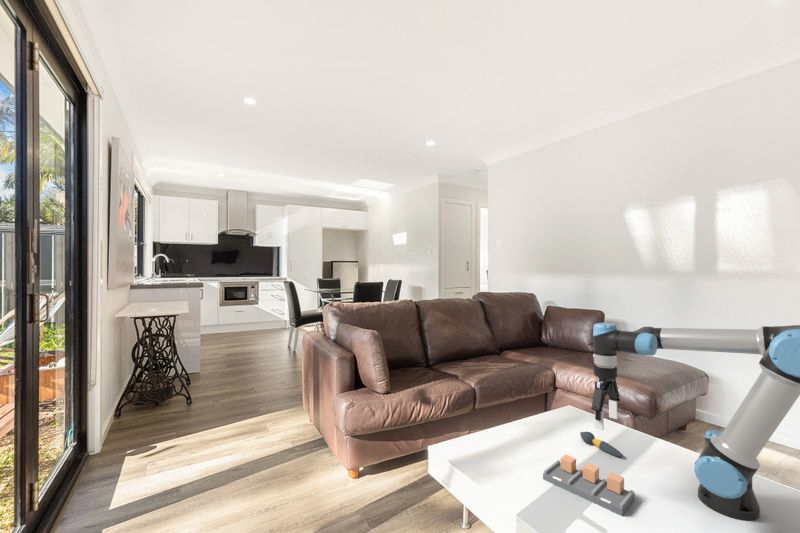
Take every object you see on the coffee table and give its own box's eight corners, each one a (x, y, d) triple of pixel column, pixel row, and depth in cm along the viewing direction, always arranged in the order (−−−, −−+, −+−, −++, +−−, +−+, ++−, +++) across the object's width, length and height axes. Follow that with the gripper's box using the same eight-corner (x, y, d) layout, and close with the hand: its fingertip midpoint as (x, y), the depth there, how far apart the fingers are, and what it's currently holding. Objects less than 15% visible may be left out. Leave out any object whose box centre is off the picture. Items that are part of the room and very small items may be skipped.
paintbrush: (627, 457, 150) (627, 444, 150) (621, 460, 147) (621, 448, 147) (581, 437, 167) (581, 426, 167) (575, 440, 164) (575, 429, 164)
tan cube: (576, 469, 137) (576, 458, 137) (571, 473, 134) (571, 462, 134) (565, 464, 140) (565, 454, 140) (560, 468, 137) (560, 458, 137)
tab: (624, 489, 125) (624, 477, 125) (619, 494, 122) (620, 482, 122) (611, 483, 128) (611, 472, 128) (606, 488, 125) (607, 476, 125)
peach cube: (598, 478, 131) (599, 467, 131) (594, 483, 128) (594, 471, 128) (587, 473, 134) (587, 463, 134) (582, 478, 131) (582, 467, 131)
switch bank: (634, 499, 123) (634, 490, 123) (622, 516, 115) (622, 506, 115) (558, 467, 142) (558, 459, 142) (543, 479, 134) (543, 471, 134)
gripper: (607, 357, 146) (608, 411, 146) (580, 370, 130) (581, 430, 129) (628, 361, 140) (629, 416, 140) (603, 374, 124) (604, 437, 124)
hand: (606, 423), depth 135 cm, fingers open, 13 cm apart
